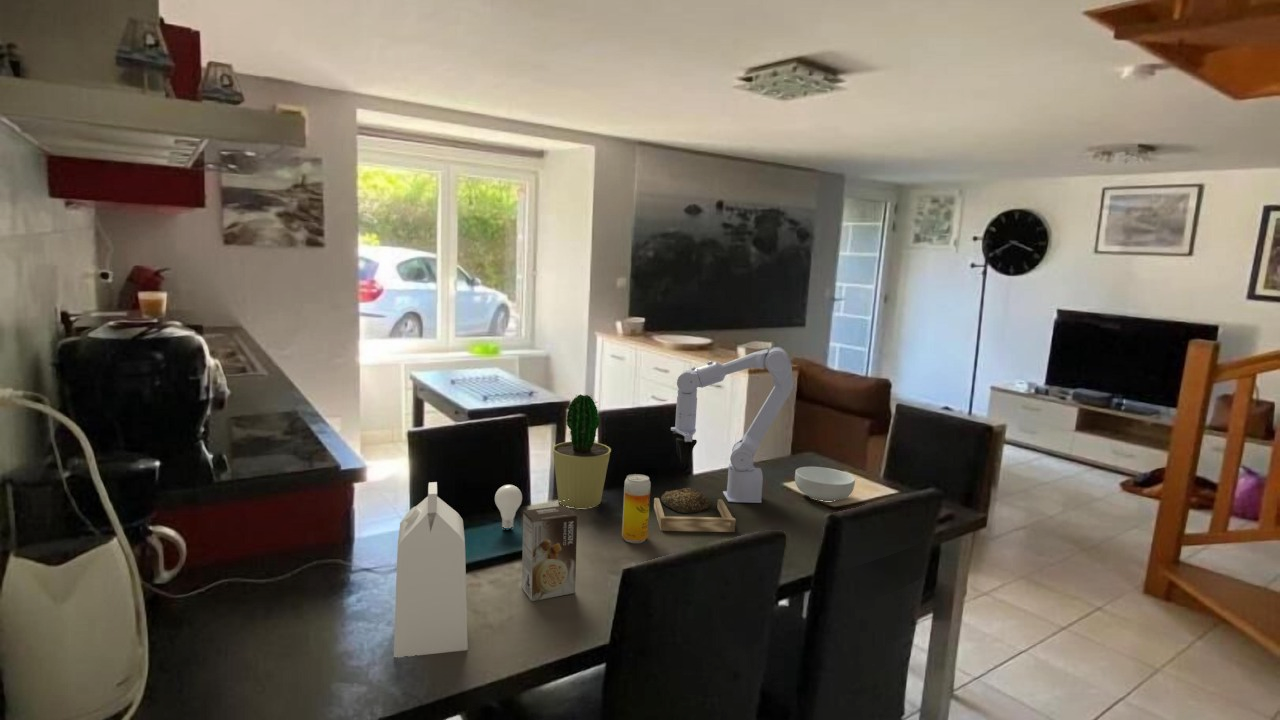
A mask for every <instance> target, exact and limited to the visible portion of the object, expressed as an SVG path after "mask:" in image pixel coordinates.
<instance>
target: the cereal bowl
mask: <svg viewBox="0 0 1280 720" xmlns="http://www.w3.org/2000/svg"><path fill="white" fill-rule="evenodd" d="M794 474H795V475H794V482H795V483H794V484H795V485H796V487H797V489H798V490H799V491H800V492H801V493H803V495H806V496H809V497H811V498H814V499H817V500H823V501H834V500H836V501H841V500H844V499H847V497H849V496H850V495H851V494H853V491H854V489H855V483H856V479H855V477H854V476H853V475H852V474H850V473H848V472H845V471H843V470H838V469H836V468H829V467H821V466H802V467H798V468H796V469H795V473H794ZM811 498H810V499H811Z"/></svg>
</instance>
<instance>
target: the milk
mask: <svg viewBox="0 0 1280 720" xmlns="http://www.w3.org/2000/svg"><path fill="white" fill-rule="evenodd" d="M427 486H428V487H427V496H426V497H425V498H424V499H423V500H421V501H420V502H419V503H418V504H417V505H416V506H413V507H412V508H410V509H409V511H408V512H407V513H406V515H405V516H404V517H403V519H402V520H401V521H400V522H399V530H398V536H397V537H398V539H397V553H396V580H395V581H396V582H395V583H396V585H395V605H394V607H395V608H394V609H395V611H394V633H393V634H394V636H393V638H394V639H393V658H394V657H396V658H397V657H398V658H405V657H404V656H408V657H413V656H414V657H415V655H417V656H424V655H433V654H442V653H443V654H444V653H452V652H462V651H468V646H469V645H468V616H467V615H468V613H467V610H468V609H467V607H468V606H467V573H466V571H467V569H466V539H465V538H466V537H465V529H464V527H465V526H464V520H463V518H462V517H461V515H460V514H459V512H457V511H456V510H455V509H453V507H451V506H450V505H449V504H447V503H446V502H445V501H444V500H443V499H441V498H440V497H439V496H438V482H437V481H434V482H433V481H432V482H430V481H429V482H428V485H427ZM396 658H395V659H396Z"/></svg>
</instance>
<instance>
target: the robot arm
mask: <svg viewBox="0 0 1280 720" xmlns="http://www.w3.org/2000/svg"><path fill="white" fill-rule="evenodd" d="M751 368H755V369H760V370H764V369H765V368H766V369H767V371H768V373H769V374H770V375H771V377H772V380H773V383H774V386H773V388H772V389H771V391H770V393H769V394H768V396H767V398H766V399H765V400H764V403H763V404H762V406H761V407H760V409H759V411H758V413H757V414H756V415H755V418H754V419H753V421H751V422H752V423H751V424H750V425H749V427H748V429H747V431H746V433H744V435H743V436H742V437H741V439H740V440H738V441H737V442H735V444H734V445H733V446H732V449H731V455H730V457H729V460H730V463H728V470H727V471H728V473H727V486H726V490H723V491H722V493H723V496H724V497H725V498H726V500H727V502H729V503H749V504H750V503H753V504H755V503H757V504H758V503H759V504H762V502H763V501H762V494H763V483H764V481H763V480H764V479H763V478H764V476H763V475H764V474H763V471H762V469H761V467H755V464H754V460H755V459H754V458H755V454H756V452H757V451H758V448H759V447H760V444H761V443H762V440H763V439H764V437H765V435H766V434H767V432H768V431H769V429H770V427H771V426H772V424H773V423H774V421H775V419H776V417H777V415H778V414H779V413H780V411H781V409H782V407H784V405H785V402H786V400H787V399H788V398H789V396H790V394H791V393H792V391H793V389H794V380H793V367H792V362H791V359H790V356H789V353H788V352H787V351H786V349H784V348H782V347H781V346H780V347H779V346H775V347H771V348H770V349H769V350H768V348H767V349H761V350H758V351H754V352H751V353H749V354H746V355H743V356H741V357H738V358H736V359H732V360H731V361H726V362H725V363H721V362H719V361H712V360H710V361H707V363H706V364H704V365H702V366H698V367H695V366H692V367H691V370H689V369H688V370H685V371H683V372H681V374H680V375H679V376H678V377H677V379H676V386H677V396H676V405H675V407H676V409H675V424H674V425H675V426H671V427H670V431H672V434H673V436H674V440H675V445H676V454H677V456H678V457H677V458H680V460H679V461H680V463H681V464H689V462H690V461H691V460H690V459H691V457H692V452H693V450H694V448H695V446H696V445H697V442H698V440H697V439H693V438H694V437H693V436H694V435H695V434H696V432H697V429H696V422H697V408H698V407H697V406H698V397H697V394H698V388H701V389H702V388H706V387H708V386H709V387H710V385H711V386H712V385H715V384H717V383H720V382H723V381H724V380H725V377H726V376H727V375H731V374H733V373H737V372H741V371H744V370H747V369H751Z"/></svg>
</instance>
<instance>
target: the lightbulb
mask: <svg viewBox="0 0 1280 720" xmlns="http://www.w3.org/2000/svg"><path fill="white" fill-rule="evenodd" d="M522 501H523V494H522V492H521V490H520V489H519V487H517V486H515V485H513V484H504V485H502V486H501V487H499V488H498V489H497V491H496V492H495V495H494V502H495V505H496V507H497V509H498V510H499V512H500V516H501V528H502V527H504V528H511V527H513V528H514V521H515V517H516V512H517V511H518V509H519V508H520V506H521V505H522V503H523V502H522Z"/></svg>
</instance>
